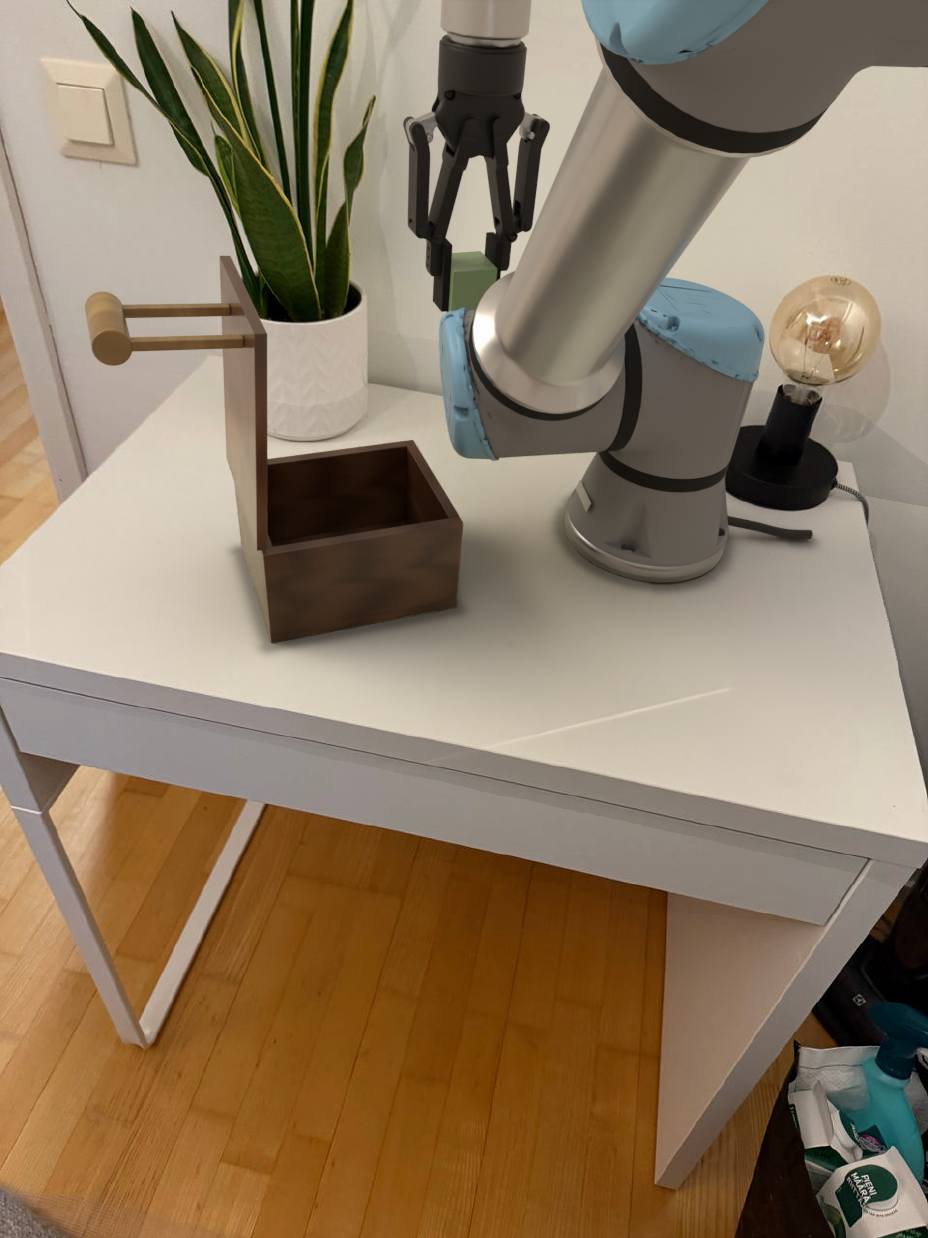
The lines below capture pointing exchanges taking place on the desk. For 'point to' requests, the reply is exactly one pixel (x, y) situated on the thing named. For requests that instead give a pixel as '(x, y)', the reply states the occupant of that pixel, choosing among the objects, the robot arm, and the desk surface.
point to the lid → (240, 369)
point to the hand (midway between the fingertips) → (465, 303)
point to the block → (469, 279)
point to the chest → (353, 540)
